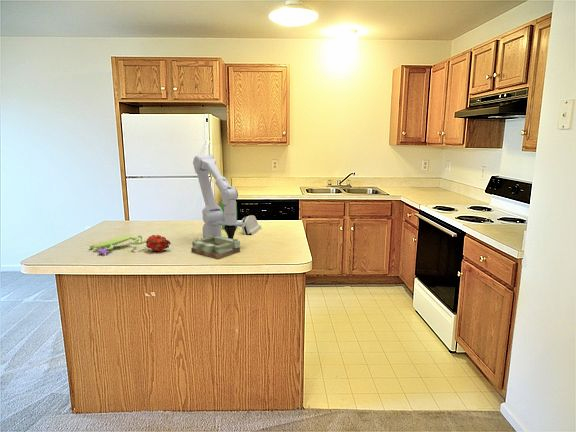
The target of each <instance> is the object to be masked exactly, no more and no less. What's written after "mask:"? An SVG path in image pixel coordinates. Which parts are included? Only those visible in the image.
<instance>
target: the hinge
mask: <svg viewBox="0 0 576 432" xmlns="http://www.w3.org/2000/svg"><path fill="white" fill-rule="evenodd" d="M240 222H243V223H245V227H241V230H242V233H243V235H244V236H246V235H249V234H251V236H254V235H255V234H256V233H258V232H259V231H260V230H261V229H262V226H261V224H259V223H258V220H257V218H256V216H255V215H253V214H252V215H251V214H250V215H248V216H244V217H243V218H242V219H241V221H240Z"/></svg>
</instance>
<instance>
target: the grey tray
mask: <svg viewBox="0 0 576 432" xmlns="http://www.w3.org/2000/svg"><path fill="white" fill-rule="evenodd" d="M214 237H217V236H209V237H206V238H203V237H202V238H200V239H195V240H194V241H192V243H191V244H192V247H191V252H192V253H194V254H198V255H202V256H205V257H209V258H212V259H216V260H219V259H222V258H226V257H228V256H233V255H234V254H236V253H240V252H241V246H240V247H238V248H232V244H231V243H225V244H222V245H220V244H215V241H214Z"/></svg>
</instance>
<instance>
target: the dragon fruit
mask: <svg viewBox="0 0 576 432" xmlns="http://www.w3.org/2000/svg"><path fill="white" fill-rule="evenodd" d="M146 240H147V241H146V243H145V244H146V245H145V246H146V248H147V249H151V250H152V252H156V251H157V252H166V249H169V248H170V245H172V243H171V241H170V240H169V239H167V238H166V237H165V236H161V235H160V234H157V235H155V234H151V235H150V236H148V237H147V238H146Z"/></svg>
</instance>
